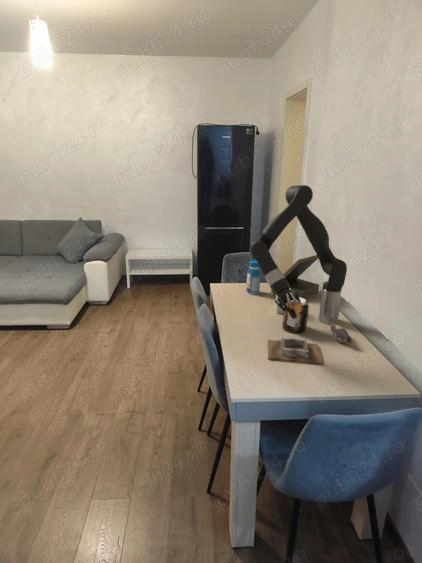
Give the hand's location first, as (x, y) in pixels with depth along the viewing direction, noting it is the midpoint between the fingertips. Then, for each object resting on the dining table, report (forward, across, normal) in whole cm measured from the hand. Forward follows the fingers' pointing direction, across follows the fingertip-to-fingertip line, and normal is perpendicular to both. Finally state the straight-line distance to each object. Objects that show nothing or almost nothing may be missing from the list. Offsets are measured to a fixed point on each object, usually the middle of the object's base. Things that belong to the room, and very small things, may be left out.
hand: (298, 316), depth 152 cm
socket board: (+12, 0, +12) cm, 17 cm away
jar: (+2, +20, +22) cm, 30 cm away
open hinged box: (-18, +64, +43) cm, 79 cm away
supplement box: (-10, +34, +34) cm, 49 cm away
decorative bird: (+15, +28, +9) cm, 34 cm away
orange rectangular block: (+2, 0, +5) cm, 5 cm away
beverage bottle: (-31, +44, +56) cm, 77 cm away
